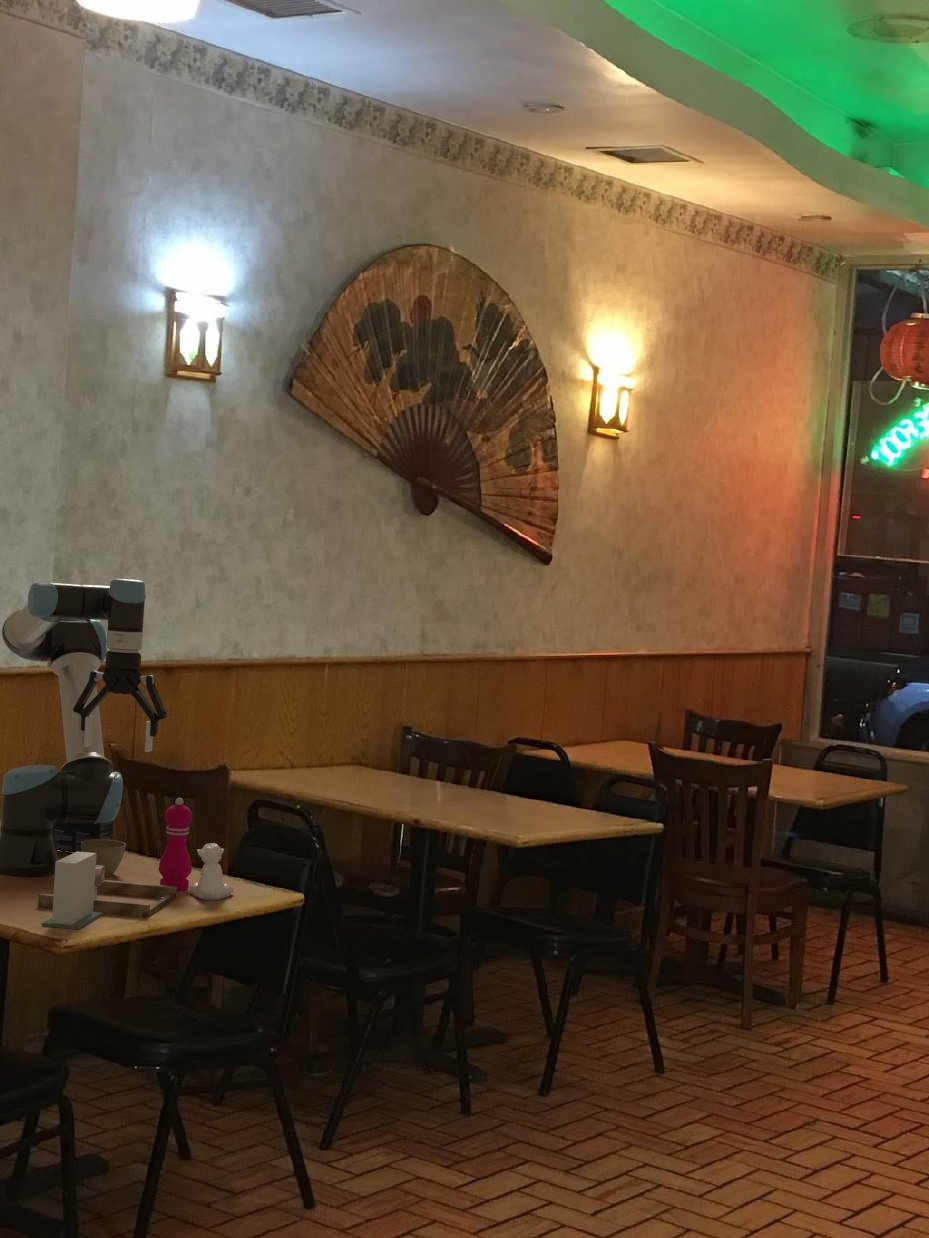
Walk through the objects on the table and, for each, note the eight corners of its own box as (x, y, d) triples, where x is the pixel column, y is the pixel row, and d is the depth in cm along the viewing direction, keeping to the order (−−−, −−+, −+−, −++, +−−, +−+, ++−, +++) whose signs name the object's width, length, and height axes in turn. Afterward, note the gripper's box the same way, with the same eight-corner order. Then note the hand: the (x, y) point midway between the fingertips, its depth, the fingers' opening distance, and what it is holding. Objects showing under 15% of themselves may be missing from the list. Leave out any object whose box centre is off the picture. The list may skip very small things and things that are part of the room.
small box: (112, 852, 401) (115, 803, 400) (98, 857, 394) (101, 807, 394) (65, 846, 405) (68, 797, 404) (50, 850, 398) (52, 801, 398)
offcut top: (99, 885, 345) (100, 869, 345) (61, 883, 345) (62, 866, 345) (103, 882, 349) (104, 865, 349) (65, 879, 349) (66, 863, 349)
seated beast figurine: (233, 894, 363) (236, 840, 362) (232, 902, 354) (235, 847, 354) (189, 892, 362) (192, 837, 361) (187, 900, 353) (191, 845, 353)
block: (51, 922, 322) (55, 861, 322) (73, 910, 334) (77, 851, 334) (71, 924, 322) (75, 863, 321) (92, 912, 334) (96, 853, 333)
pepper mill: (183, 892, 361) (189, 801, 360) (152, 889, 362) (157, 798, 362) (195, 886, 368) (201, 797, 367) (164, 883, 369) (170, 794, 369)
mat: (41, 925, 322) (41, 922, 322) (66, 911, 335) (66, 908, 335) (78, 929, 321) (79, 926, 321) (102, 915, 334) (102, 912, 334)
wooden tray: (38, 906, 338) (38, 894, 338) (72, 888, 358) (73, 876, 357) (147, 917, 335) (147, 905, 335) (176, 898, 355) (176, 886, 355)
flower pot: (85, 879, 368) (87, 847, 367) (74, 870, 376) (76, 839, 376) (129, 878, 372) (131, 846, 372) (117, 869, 381) (119, 838, 381)
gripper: (61, 647, 354) (56, 745, 355) (174, 655, 352) (168, 755, 352) (74, 645, 362) (68, 742, 363) (185, 654, 359) (179, 751, 360)
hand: (117, 748), depth 358 cm, fingers open, 13 cm apart
